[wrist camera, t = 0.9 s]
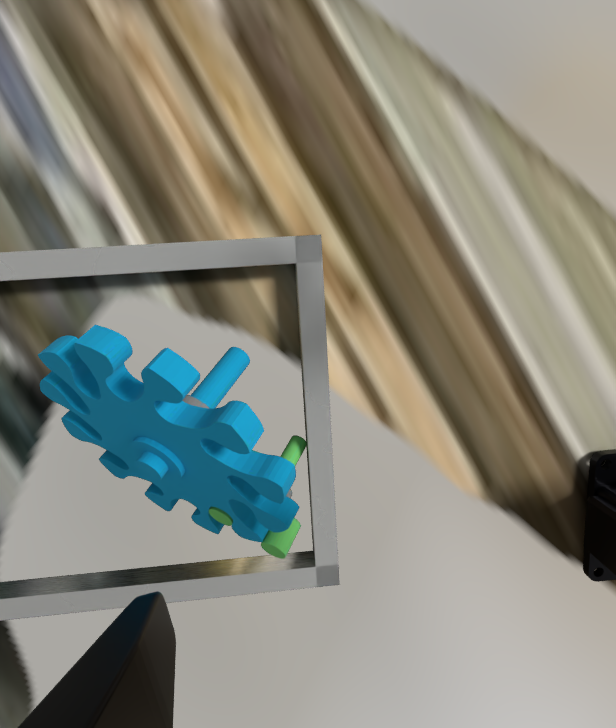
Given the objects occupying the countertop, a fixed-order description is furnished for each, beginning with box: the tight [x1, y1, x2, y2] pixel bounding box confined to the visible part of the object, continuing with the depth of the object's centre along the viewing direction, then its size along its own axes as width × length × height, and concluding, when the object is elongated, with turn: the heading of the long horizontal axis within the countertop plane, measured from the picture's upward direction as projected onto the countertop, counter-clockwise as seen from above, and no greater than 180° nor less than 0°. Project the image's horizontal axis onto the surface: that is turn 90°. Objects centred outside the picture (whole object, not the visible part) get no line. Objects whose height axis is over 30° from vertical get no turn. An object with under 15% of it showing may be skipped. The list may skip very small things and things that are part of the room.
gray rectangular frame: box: [0, 235, 339, 621], centre depth 19 cm, size 18×15×1 cm
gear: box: [38, 325, 307, 559], centre depth 17 cm, size 11×6×10 cm
